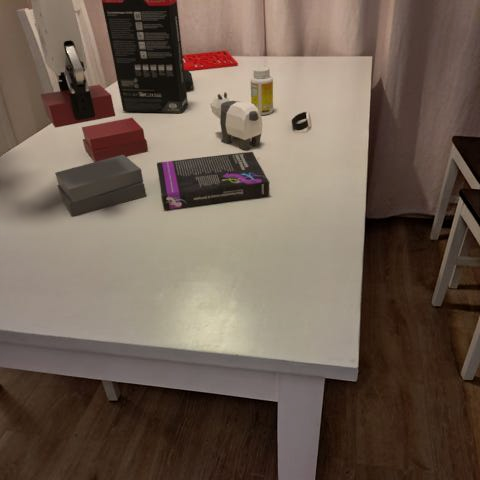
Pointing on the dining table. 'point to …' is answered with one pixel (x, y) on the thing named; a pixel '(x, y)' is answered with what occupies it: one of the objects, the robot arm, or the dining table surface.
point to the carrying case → (188, 80)
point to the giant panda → (238, 121)
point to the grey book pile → (100, 184)
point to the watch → (304, 124)
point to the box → (211, 180)
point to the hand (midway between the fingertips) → (79, 110)
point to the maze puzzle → (208, 60)
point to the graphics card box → (147, 54)
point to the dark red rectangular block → (62, 111)
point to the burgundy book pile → (114, 139)
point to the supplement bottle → (262, 90)
